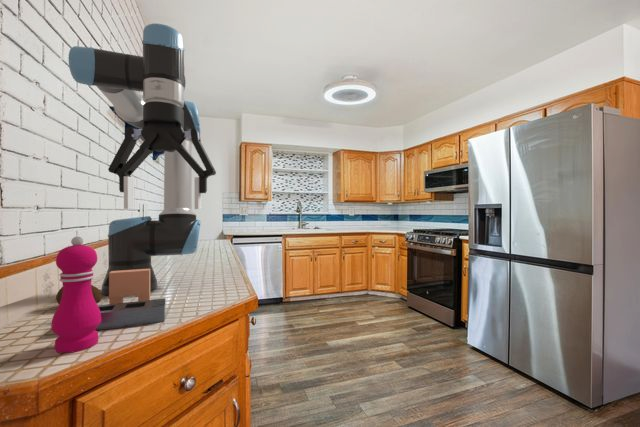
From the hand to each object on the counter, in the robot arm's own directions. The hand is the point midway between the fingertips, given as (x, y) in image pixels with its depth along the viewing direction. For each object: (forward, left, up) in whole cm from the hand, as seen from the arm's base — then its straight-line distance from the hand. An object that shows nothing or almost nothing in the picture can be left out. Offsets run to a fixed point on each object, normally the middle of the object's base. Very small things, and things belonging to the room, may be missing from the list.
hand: (164, 209), depth 64 cm
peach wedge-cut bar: (-19, -8, -25) cm, 32 cm away
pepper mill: (+1, -14, -25) cm, 29 cm away
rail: (-10, -9, -25) cm, 28 cm away
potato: (-29, -21, -25) cm, 44 cm away
